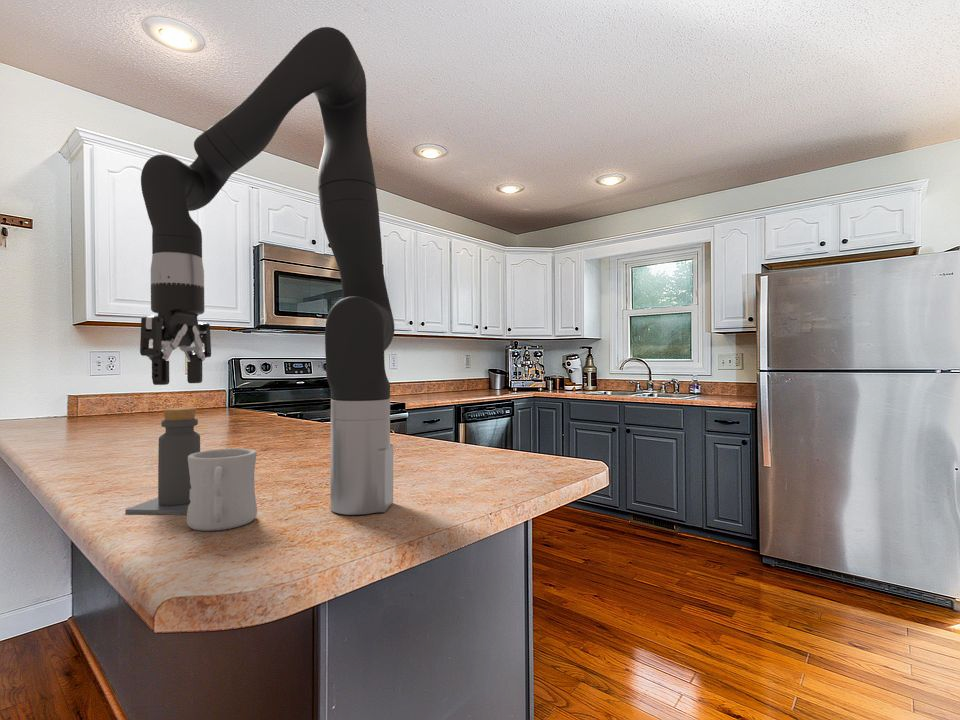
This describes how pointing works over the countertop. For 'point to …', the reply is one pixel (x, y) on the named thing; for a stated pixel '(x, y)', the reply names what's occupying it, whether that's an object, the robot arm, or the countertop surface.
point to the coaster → (157, 508)
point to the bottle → (176, 455)
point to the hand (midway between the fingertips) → (178, 383)
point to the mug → (221, 489)
